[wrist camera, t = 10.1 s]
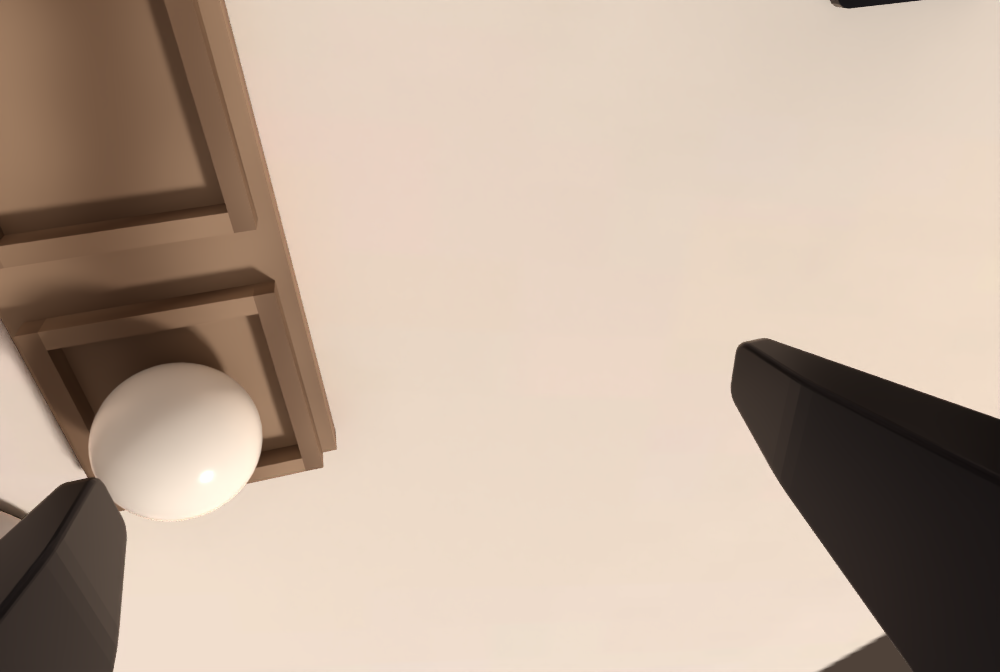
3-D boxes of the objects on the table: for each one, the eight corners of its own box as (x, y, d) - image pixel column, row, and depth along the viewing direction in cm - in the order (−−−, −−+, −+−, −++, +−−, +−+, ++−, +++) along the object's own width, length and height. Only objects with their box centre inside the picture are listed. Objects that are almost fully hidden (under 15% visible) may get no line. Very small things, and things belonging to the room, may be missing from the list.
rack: (207, -67, 16) (197, -65, 15) (335, 432, 25) (337, 464, 24) (-165, -38, 15) (-216, -33, 14) (106, 479, 24) (93, 516, 22)
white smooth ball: (244, 321, 21) (232, 410, 17) (280, 433, 23) (276, 533, 19) (85, 349, 20) (35, 449, 16) (140, 462, 22) (107, 572, 19)
